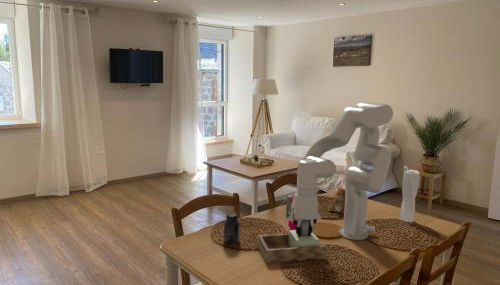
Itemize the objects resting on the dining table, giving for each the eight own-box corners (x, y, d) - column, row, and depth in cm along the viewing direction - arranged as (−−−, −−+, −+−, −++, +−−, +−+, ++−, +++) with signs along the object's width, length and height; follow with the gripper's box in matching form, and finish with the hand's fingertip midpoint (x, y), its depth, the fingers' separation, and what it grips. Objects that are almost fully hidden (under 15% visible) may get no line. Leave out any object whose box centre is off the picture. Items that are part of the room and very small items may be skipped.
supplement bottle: (242, 241, 160) (243, 214, 158) (231, 246, 155) (232, 218, 153) (231, 236, 164) (232, 210, 162) (220, 241, 160) (220, 214, 158)
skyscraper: (395, 220, 189) (400, 166, 184) (402, 217, 194) (407, 164, 189) (410, 225, 183) (416, 169, 179) (417, 221, 188) (423, 167, 184)
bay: (312, 243, 160) (313, 232, 159) (325, 258, 146) (326, 246, 145) (258, 246, 155) (258, 235, 154) (266, 262, 141) (266, 250, 141)
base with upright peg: (308, 242, 158) (310, 215, 156) (318, 254, 147) (320, 225, 145) (288, 243, 156) (289, 216, 154) (296, 256, 145) (298, 226, 143)
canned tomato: (286, 213, 195) (287, 192, 194) (301, 214, 194) (302, 193, 193) (285, 218, 188) (286, 197, 186) (301, 219, 187) (302, 198, 185)
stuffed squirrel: (326, 211, 199) (328, 187, 197) (339, 205, 210) (341, 183, 207) (343, 216, 193) (345, 192, 191) (356, 210, 203) (358, 186, 201)
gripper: (322, 187, 153) (319, 230, 156) (283, 189, 149) (281, 232, 152) (329, 193, 145) (326, 237, 148) (288, 194, 142) (286, 240, 145)
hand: (303, 234), depth 150 cm, fingers closed on base with upright peg, 3 cm apart
